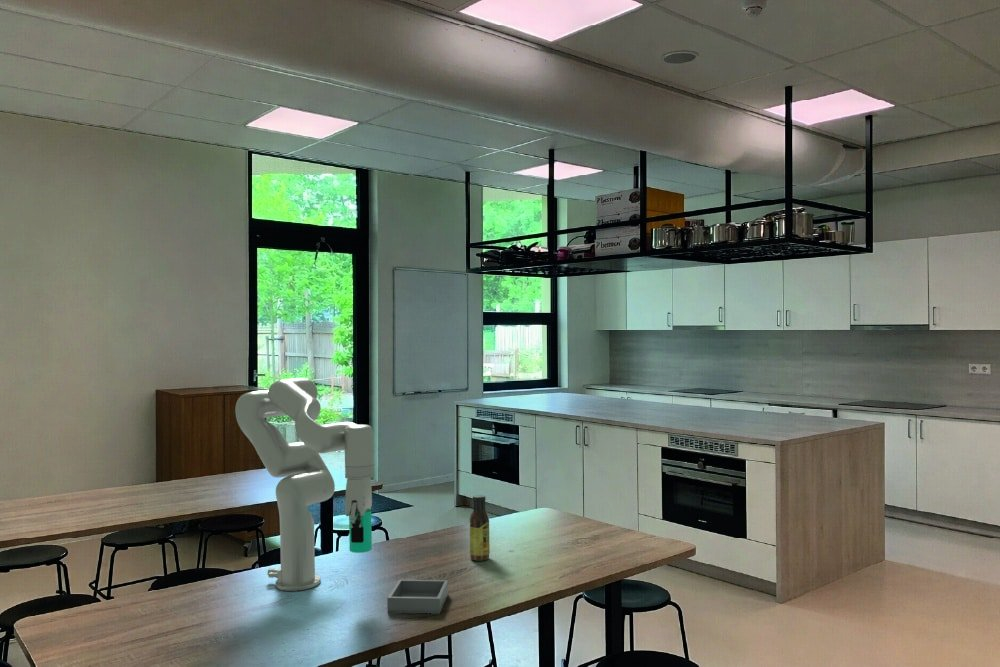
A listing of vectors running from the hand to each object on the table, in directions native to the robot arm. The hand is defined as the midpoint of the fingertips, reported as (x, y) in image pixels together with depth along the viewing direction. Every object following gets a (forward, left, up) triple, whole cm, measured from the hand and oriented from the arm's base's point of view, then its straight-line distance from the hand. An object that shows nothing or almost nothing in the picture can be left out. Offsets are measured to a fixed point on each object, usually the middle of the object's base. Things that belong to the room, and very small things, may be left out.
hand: (360, 538), depth 196 cm
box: (+16, 0, -17) cm, 23 cm away
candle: (0, 0, -3) cm, 3 cm away
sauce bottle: (+28, +38, -17) cm, 50 cm away
